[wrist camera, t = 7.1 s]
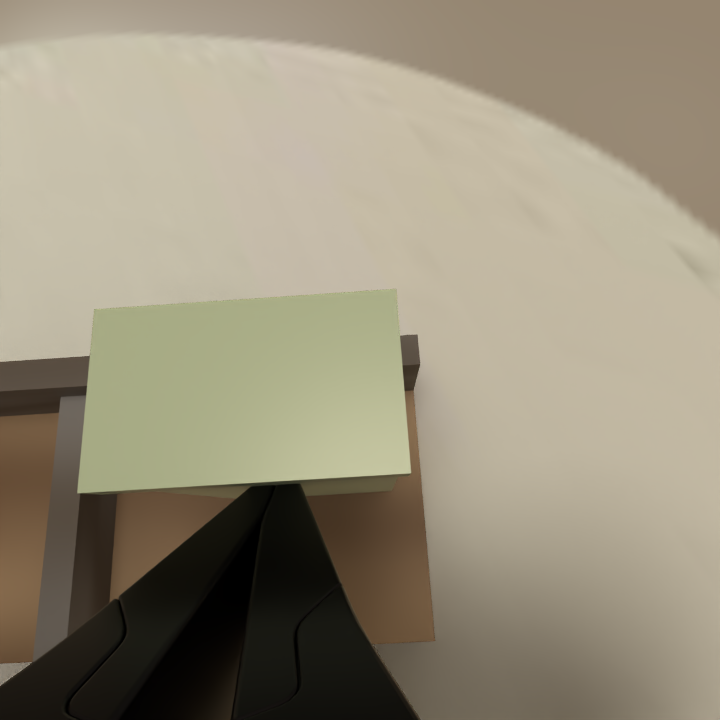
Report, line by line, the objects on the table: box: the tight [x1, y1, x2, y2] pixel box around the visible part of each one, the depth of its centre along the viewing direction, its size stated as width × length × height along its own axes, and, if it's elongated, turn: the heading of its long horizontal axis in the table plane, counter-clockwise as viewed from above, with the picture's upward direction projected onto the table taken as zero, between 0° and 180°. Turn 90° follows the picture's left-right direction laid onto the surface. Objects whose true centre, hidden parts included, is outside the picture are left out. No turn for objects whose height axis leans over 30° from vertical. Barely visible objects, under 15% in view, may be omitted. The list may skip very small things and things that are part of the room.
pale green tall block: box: [77, 289, 411, 499], centre depth 11 cm, size 3×4×9 cm, turn 93°
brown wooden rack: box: [0, 335, 435, 664], centre depth 14 cm, size 8×19×6 cm, turn 93°
